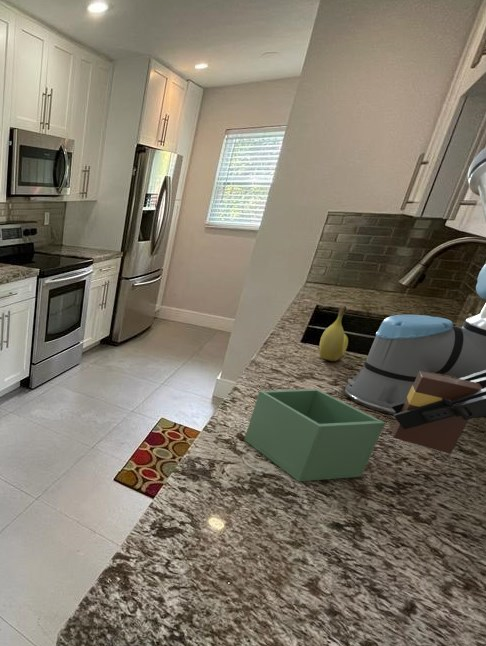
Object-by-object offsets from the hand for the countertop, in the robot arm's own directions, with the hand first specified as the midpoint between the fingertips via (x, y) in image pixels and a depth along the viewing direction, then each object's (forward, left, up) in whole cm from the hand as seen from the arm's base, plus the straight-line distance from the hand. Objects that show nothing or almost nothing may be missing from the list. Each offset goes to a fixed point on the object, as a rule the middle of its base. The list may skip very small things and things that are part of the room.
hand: (397, 417), depth 73 cm
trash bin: (+9, -7, -13) cm, 17 cm away
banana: (-50, -55, -13) cm, 75 cm away
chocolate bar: (-3, +3, -3) cm, 5 cm away
